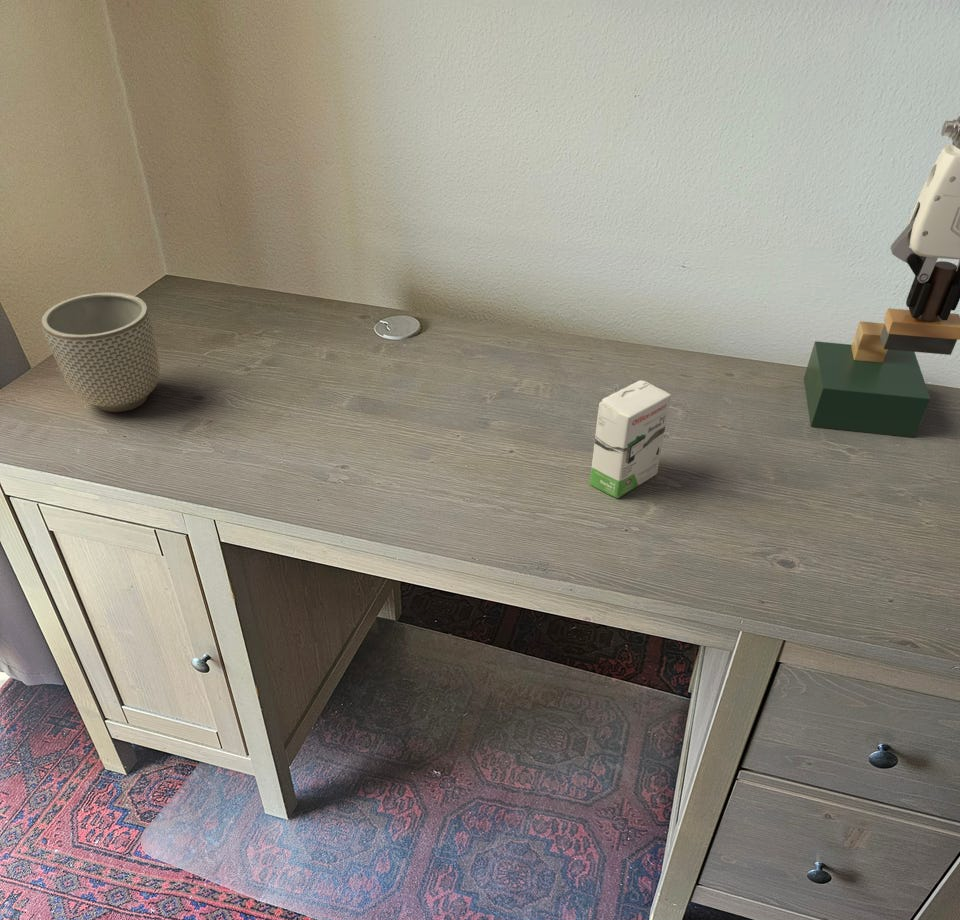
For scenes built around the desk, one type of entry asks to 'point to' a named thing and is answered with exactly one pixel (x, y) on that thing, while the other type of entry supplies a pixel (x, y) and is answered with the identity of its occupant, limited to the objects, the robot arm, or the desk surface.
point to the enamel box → (865, 391)
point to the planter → (105, 348)
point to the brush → (925, 320)
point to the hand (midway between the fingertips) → (927, 312)
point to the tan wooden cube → (868, 343)
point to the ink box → (629, 438)
